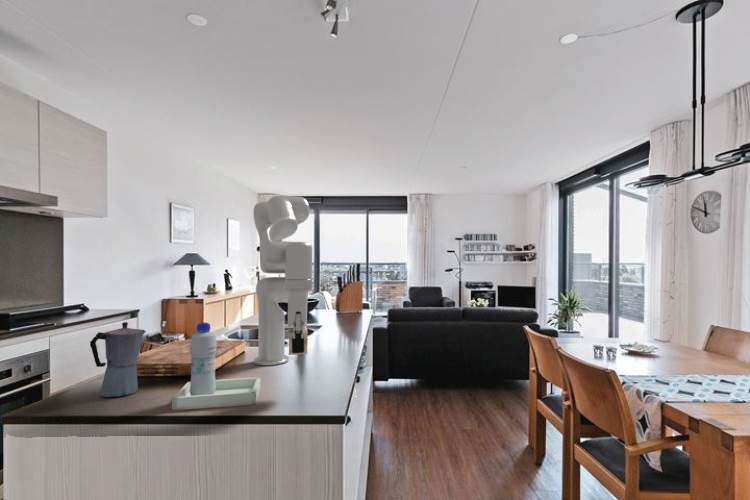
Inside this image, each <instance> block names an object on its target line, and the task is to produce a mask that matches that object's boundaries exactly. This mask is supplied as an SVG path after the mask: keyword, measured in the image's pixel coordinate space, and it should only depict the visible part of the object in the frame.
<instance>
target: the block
mask: <svg viewBox="0 0 750 500" xmlns="http://www.w3.org/2000/svg"><path fill="white" fill-rule="evenodd" d="M295 330H296V329H295ZM300 330H301V329H300ZM292 338H293V328H292V329H290V328H288V355H289V356H293V355H295V356H296V355H308V328H303V338H304V352H303V353H292Z"/></svg>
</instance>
